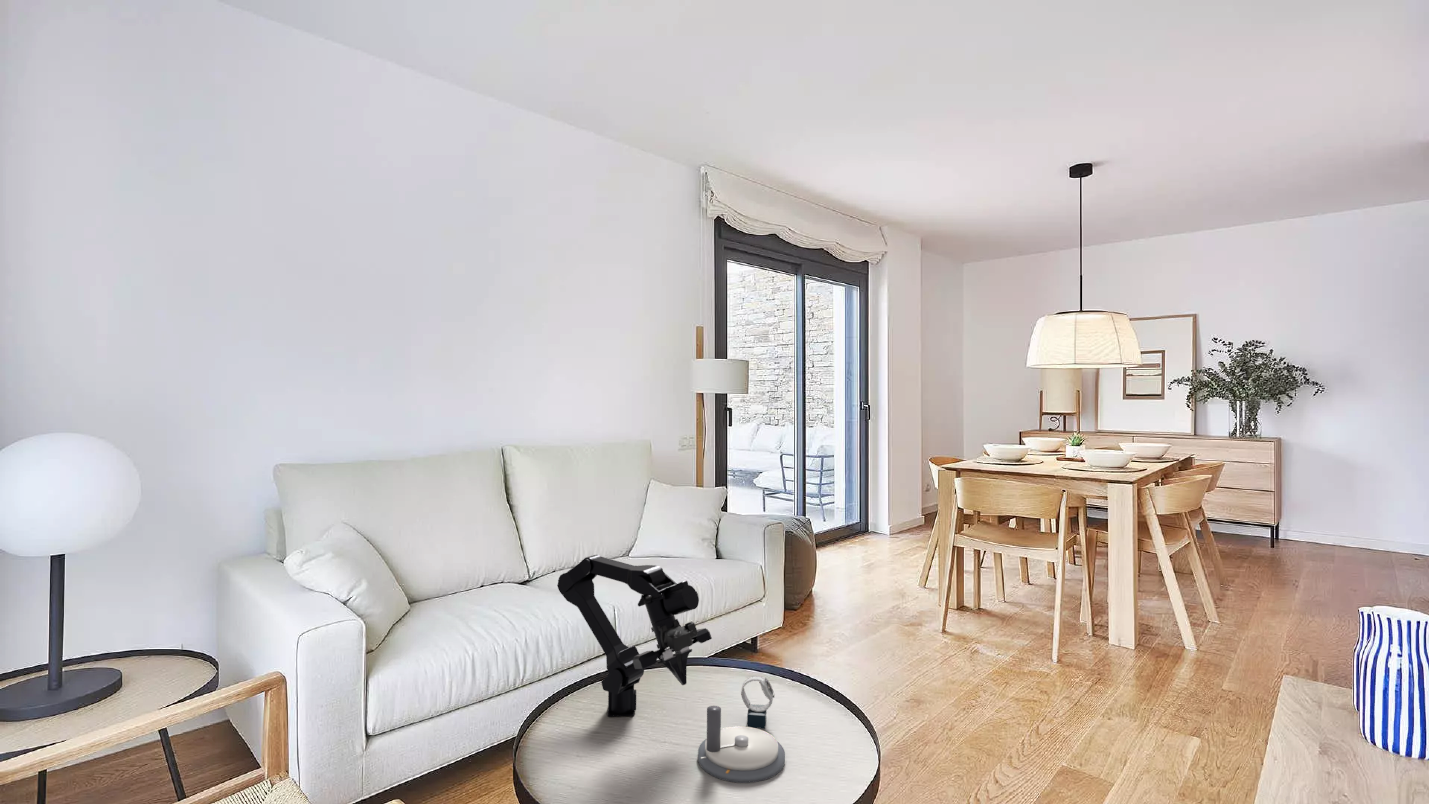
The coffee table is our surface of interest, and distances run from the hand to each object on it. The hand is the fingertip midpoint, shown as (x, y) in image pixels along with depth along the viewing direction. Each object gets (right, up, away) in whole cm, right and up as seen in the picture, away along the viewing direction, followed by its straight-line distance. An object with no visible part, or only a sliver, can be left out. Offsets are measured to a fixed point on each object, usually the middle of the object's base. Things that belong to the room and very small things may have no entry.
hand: (684, 684), depth 171 cm
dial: (+13, -10, -11) cm, 20 cm away
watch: (+17, -12, +6) cm, 22 cm away
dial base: (+13, -12, -11) cm, 21 cm away
